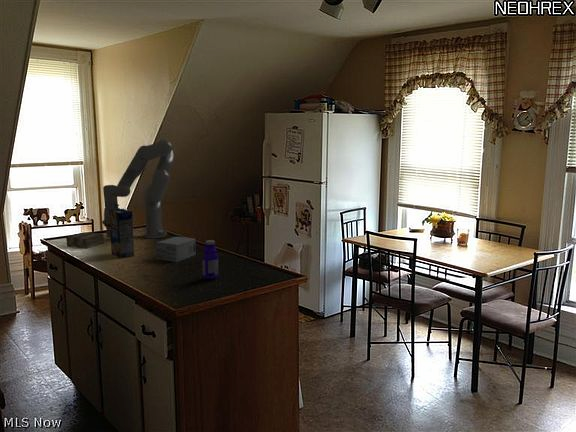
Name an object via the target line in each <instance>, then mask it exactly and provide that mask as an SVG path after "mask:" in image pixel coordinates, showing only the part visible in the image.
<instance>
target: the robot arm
mask: <svg viewBox="0 0 576 432" xmlns="http://www.w3.org/2000/svg"><path fill="white" fill-rule="evenodd" d="M154 159H159V160H158V163H157V165H156V167H155V170H154V172H153V173H152V176H151V178H152V182H151V184H150V185H149V186H147V187H146V188H145V190H144V194H143V195H144V196H143V197H144V205H145V229H146V233H145V234H144V235H143V238H146V239H160V238H161V239H162V238H164V237H166V236H167V233H168V231H165V230H164V228H163V220H162V219H163V217H162V216H163V214H162V200H163V198H164V197H165V194H166V193H167V189H168V187H169V186H170V182H171V176H170V173H171V170H172V168H173V165H174V161H175V153H174V151H173V145H172V143H171V142H170V141H168V140H165V139H160V140H158V141H157V142H156V143H152V144H148V145H140V147H138V149H137V151H136V153H135V154H134V156H133V157H132V159H131V161H130V163H129V164H128V165H127V168H126V169H125V171H124V173H123V175H122V176H121V178H119V181H118V183H117V185H115V184H107V185H104V186H103V187H102V191H103V202H104V203H103V204H104V208H103V220H102V222H101V223H102V225H103V226H104V227H105V228H106V227H109V226H110V213H109V210H114V209H121V208H120V207H119V206H120V204H118V203H119V201H118V198H126V197H128V196H129V195H130V193H131V188H132V185H133V184H134V182H135V181H136V179H137V178H138V177H140V175H142V173H143V171H144V169H145V168H146V166H147V164H148V163H149V161H151V160H154Z"/></svg>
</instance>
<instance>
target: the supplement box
mask: <svg viewBox="0 0 576 432" xmlns="http://www.w3.org/2000/svg"><path fill="white" fill-rule="evenodd" d="M155 248H156V249H155V252H156V256H155V257H156V260H161V261H165V262H168V261H169V262H173V263H179V262H181V261H184V260H186V259H189V258H192V257H194V255H195V256H197V255H196V252H197V250H196V248H197V247H196V238H193V237H184V236H183V237H182V236H173V237H170V238H166V239H163V240H160V241H156V242H155ZM191 256H192V257H191Z"/></svg>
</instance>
